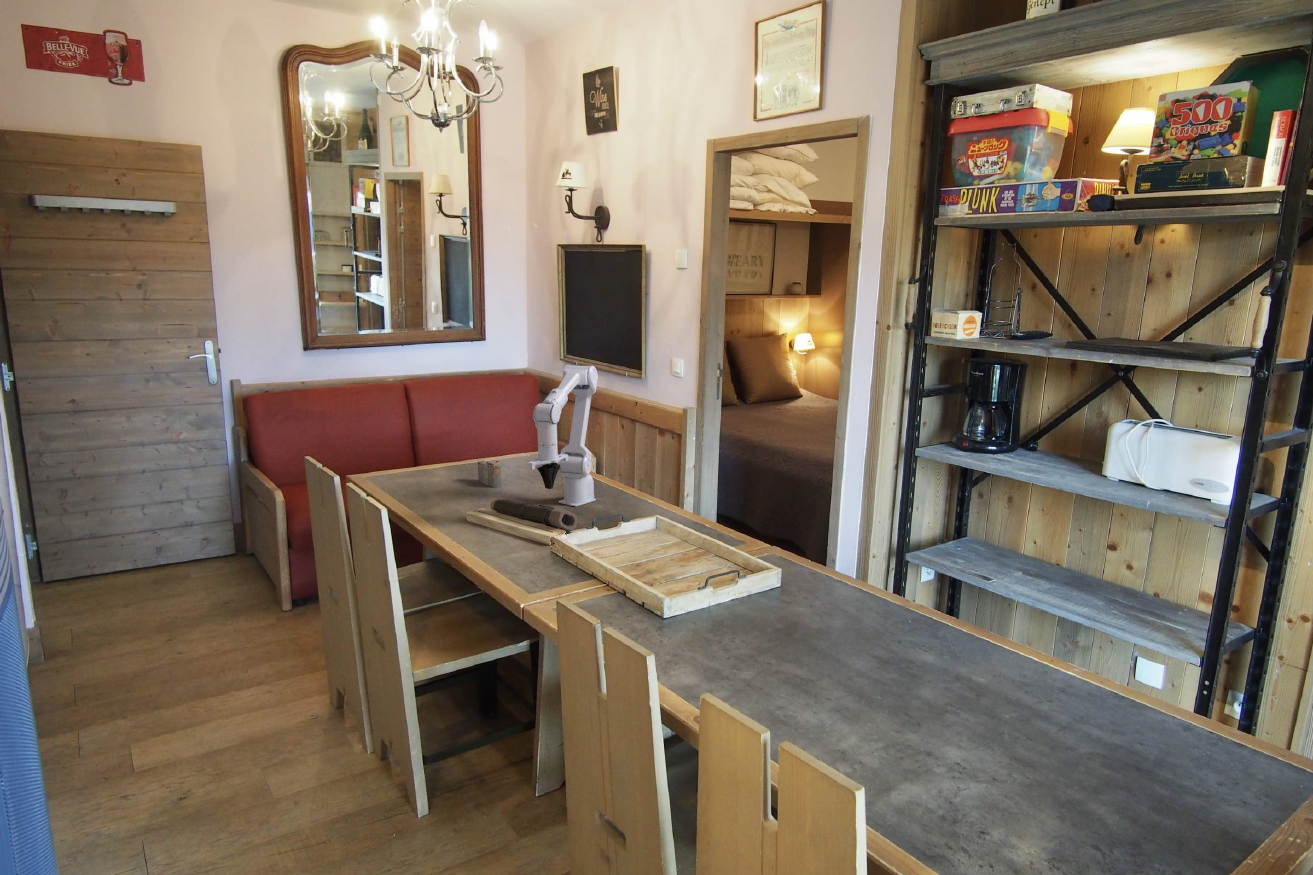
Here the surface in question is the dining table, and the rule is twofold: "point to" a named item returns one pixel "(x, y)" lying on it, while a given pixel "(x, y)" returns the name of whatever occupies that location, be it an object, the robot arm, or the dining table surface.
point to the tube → (537, 513)
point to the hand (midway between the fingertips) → (549, 488)
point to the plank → (513, 525)
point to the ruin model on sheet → (489, 473)
